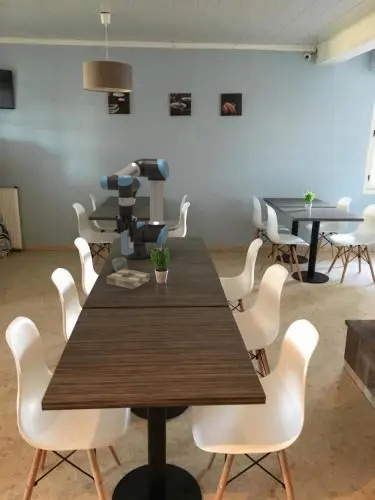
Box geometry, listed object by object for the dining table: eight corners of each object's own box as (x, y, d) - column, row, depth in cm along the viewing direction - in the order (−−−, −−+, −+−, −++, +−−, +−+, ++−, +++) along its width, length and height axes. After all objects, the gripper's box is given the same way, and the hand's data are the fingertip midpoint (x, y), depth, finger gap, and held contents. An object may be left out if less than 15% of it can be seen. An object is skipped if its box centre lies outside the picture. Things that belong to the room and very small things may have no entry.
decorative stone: (127, 274, 246) (132, 259, 249) (109, 269, 243) (114, 253, 247) (124, 278, 258) (128, 263, 261) (107, 273, 255) (111, 258, 259)
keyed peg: (121, 254, 229) (120, 231, 225) (128, 251, 234) (127, 229, 230) (127, 255, 227) (126, 232, 223) (133, 252, 232) (133, 230, 228)
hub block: (124, 275, 246) (124, 268, 245) (149, 280, 237) (149, 273, 236) (106, 283, 232) (106, 276, 231) (133, 289, 224) (132, 282, 223)
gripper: (108, 204, 223) (110, 246, 230) (134, 207, 215) (136, 250, 222) (117, 202, 230) (119, 243, 236) (143, 205, 222) (144, 247, 228)
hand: (127, 247), depth 229 cm, fingers closed on keyed peg, 4 cm apart
